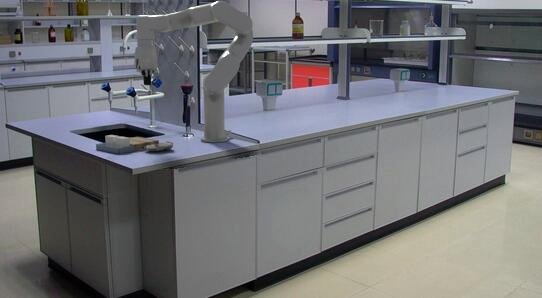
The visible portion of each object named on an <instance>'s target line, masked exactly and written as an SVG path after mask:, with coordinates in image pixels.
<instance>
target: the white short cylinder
mask: <svg viewBox="0 0 542 298" xmlns="http://www.w3.org/2000/svg"><path fill="white" fill-rule="evenodd" d="M115 137H121V136H119V135H114V134H109V135H105V137H104V138H105V143H106V146H110V147H115V148H116V145H115Z"/></svg>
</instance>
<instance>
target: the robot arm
mask: <svg viewBox="0 0 542 298" xmlns="http://www.w3.org/2000/svg"><path fill="white" fill-rule="evenodd" d="M135 21H136V38H137V39H136V42H137V43H136V44H137V45H136V46H135V49H134V69H136V72H137V73H140V74H141V76H142V77H143V85H144V86H152V77H153V73H156V72H157V71H158V66H159V63H158V60H159V59H158V52H157V48H156V46H155V45H156V43H157V40H156V41H155V32H158V33H167V32H172V31H176V30H181V29H186V28H196V27H199V26H205V25H208V24H209V25H210V24H214V23H218V22H220V23H222V24H223V25H225V26H227V27H228V28H230V29H231V30H233V31H234V37H233V40H232V41H231V42H230V44H229V45H228V47H227V48H226V49H225V50H224V52H223V53H222V54H221V56H219V58H218V60H217V63H216V64H215V65H213V66H214V67H213V68H212V69H211V71H210V72H208V73H206V75H205V76H203V77H204V78H203V80H202V93H203V94H202V95H203V135H204V136H202V137H201V138H200V141H201V142H205V143H223V142H227V141H228V140H229V138H228V136H227V135H231V134H232V130H230V129H229V130H226V129H225V89H226V87H228V85H229V84H230V82H231V81H232V80H233V79H234V78H235V76H236V74H237V73H238V71H239V69H240V66H241V62H242V60H243V59H244V58H245V56H246V55H247V53H248V52H249V50H250V48H251V47H252V44H253V41H254V31H253V26H254V25H253V20H252V19H251V17H250V16H249V15H247V14H246V13H244V12H242V11H241V10H239V9H237V8H235V7H234V6H232V5H231V4H230V3H228V2H226V1H224V0H217V1H215V2H211V3H205V4H202V5H197V6H196V5H195V6H192V7H189V8H186V9H185V10H181V11H177V12H173V13H168V14H158V15H147V14H145V15H143V14H141V15H137V16H136V20H135Z"/></svg>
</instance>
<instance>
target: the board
mask: <svg viewBox="0 0 542 298" xmlns="http://www.w3.org/2000/svg"><path fill="white" fill-rule="evenodd" d="M129 138H130V146H134V152H138V151H144V150H146V149H145V148H144V147H145V146H146V145H151V144H158V143H160V140H158V139H153V138H147V137H142V136H134V137H129Z"/></svg>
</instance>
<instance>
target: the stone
mask: <svg viewBox="0 0 542 298" xmlns="http://www.w3.org/2000/svg"><path fill="white" fill-rule="evenodd" d="M173 147H174V143H173V142H172V141H167V140H166V141H165V142H162V143H161V142H159V143H158V144H151V145H146V146H145V147H144V148H145V149H144V150H146V151H148V152H160V151H164V150H171V149H172V148H173Z"/></svg>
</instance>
